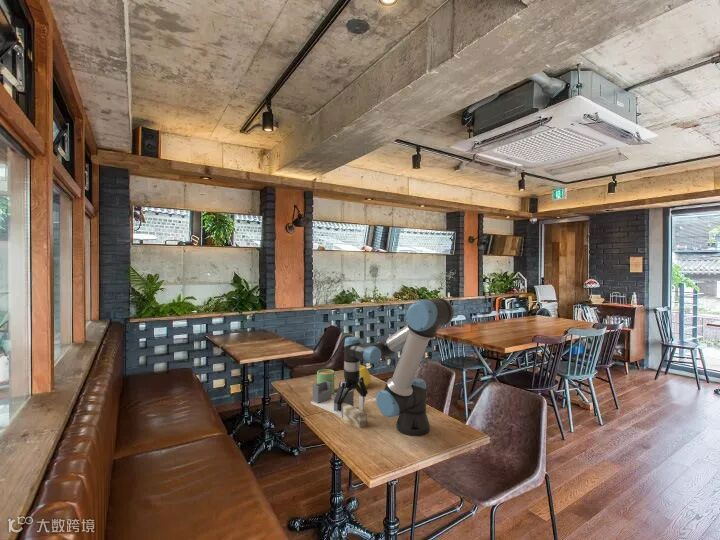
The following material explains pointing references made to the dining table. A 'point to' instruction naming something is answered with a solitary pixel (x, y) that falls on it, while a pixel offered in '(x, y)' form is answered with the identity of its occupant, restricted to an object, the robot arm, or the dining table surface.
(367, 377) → the teapot
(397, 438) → the dining table surface
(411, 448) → the dining table surface
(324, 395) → the bracket board
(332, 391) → the mug
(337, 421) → the dining table surface
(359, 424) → the rail
